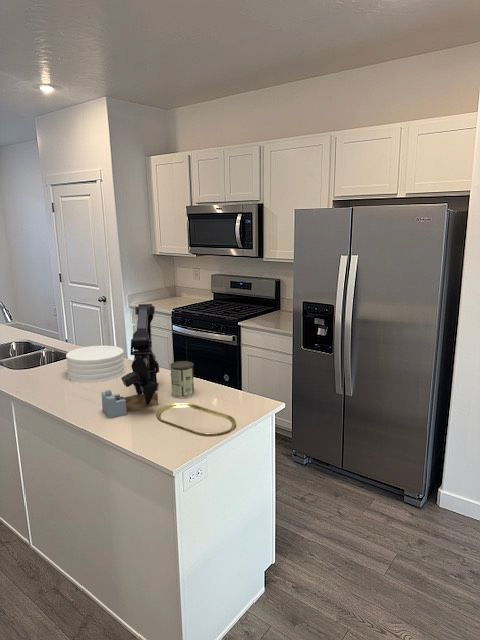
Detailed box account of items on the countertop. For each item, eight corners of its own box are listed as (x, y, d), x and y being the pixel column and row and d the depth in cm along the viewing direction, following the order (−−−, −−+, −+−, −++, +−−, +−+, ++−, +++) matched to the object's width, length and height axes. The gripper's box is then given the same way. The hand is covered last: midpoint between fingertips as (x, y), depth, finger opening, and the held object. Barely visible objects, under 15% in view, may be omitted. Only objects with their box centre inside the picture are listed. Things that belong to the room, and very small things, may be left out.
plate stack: (102, 362, 248) (100, 342, 246) (135, 371, 232) (134, 350, 230) (56, 375, 226) (54, 354, 224) (90, 386, 210) (88, 363, 208)
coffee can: (179, 388, 207) (178, 359, 204) (198, 392, 203) (197, 362, 200) (166, 396, 198) (165, 365, 195) (186, 399, 194) (185, 368, 191)
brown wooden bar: (154, 402, 191) (154, 389, 190) (158, 404, 188) (157, 392, 187) (118, 410, 183) (117, 397, 181) (121, 412, 180) (120, 400, 179)
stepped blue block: (119, 407, 185) (118, 384, 183) (126, 414, 178) (125, 390, 176) (102, 410, 182) (101, 387, 180) (109, 418, 174) (107, 394, 172)
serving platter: (214, 442, 156) (214, 438, 155) (146, 417, 176) (146, 414, 176) (245, 423, 171) (245, 420, 170) (179, 403, 191) (179, 399, 190)
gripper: (115, 363, 186) (117, 398, 190) (130, 375, 171) (132, 413, 174) (141, 359, 192) (142, 393, 195) (157, 370, 177) (159, 406, 180)
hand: (143, 401), depth 186 cm, fingers open, 9 cm apart
